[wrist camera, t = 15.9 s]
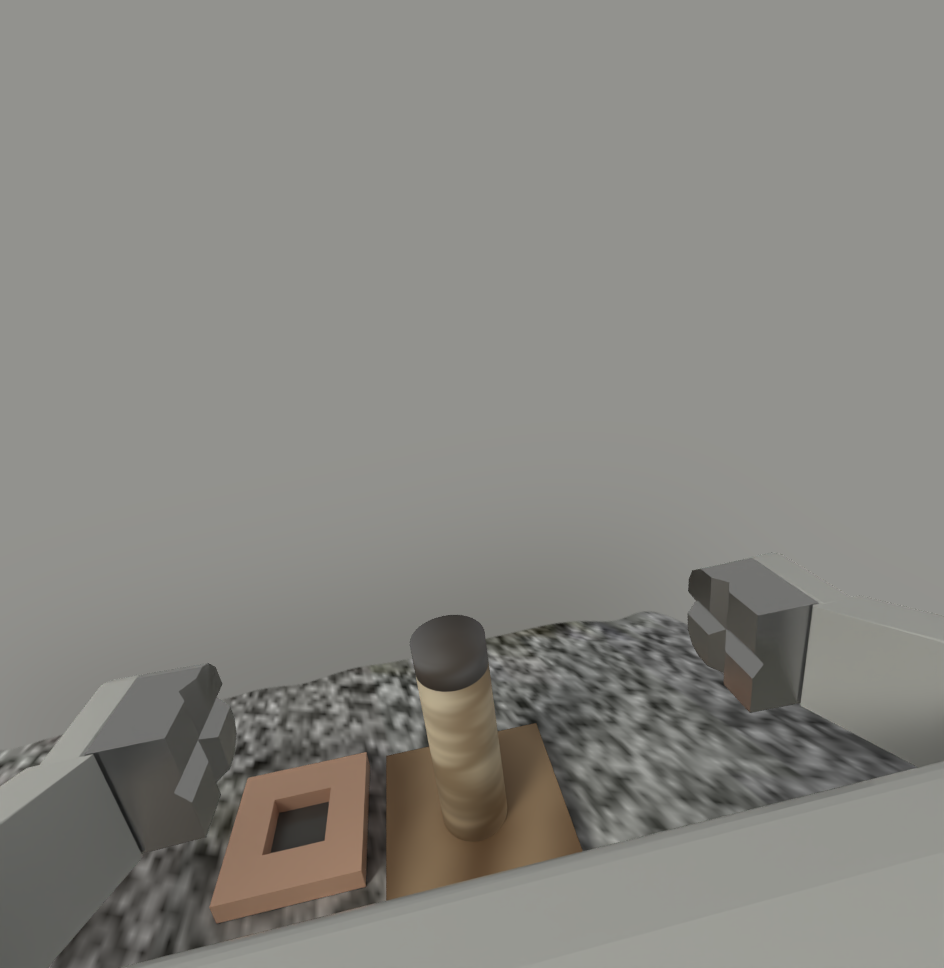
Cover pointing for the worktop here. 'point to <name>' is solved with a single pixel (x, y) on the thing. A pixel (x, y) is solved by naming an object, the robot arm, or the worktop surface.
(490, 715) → the beech tool handle
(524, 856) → the walnut board
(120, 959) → the worktop surface
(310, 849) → the frame
